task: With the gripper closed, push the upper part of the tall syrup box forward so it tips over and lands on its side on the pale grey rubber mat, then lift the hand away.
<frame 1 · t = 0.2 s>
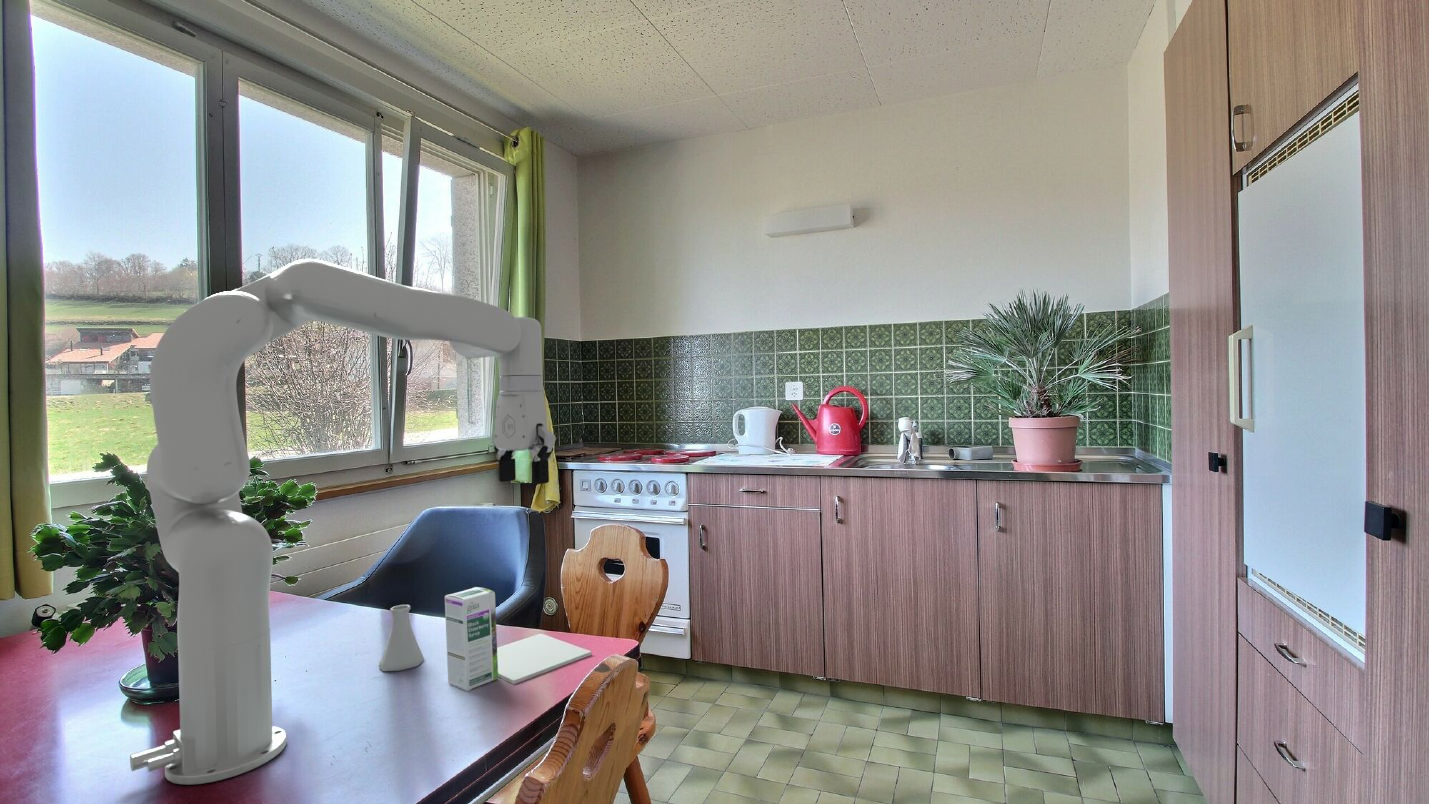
hand: (523, 482, 118), 31 cm above the table, tool pointing down, fingers open, 9 cm apart
flask: (401, 665, 115), on the table
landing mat: (528, 658, 116), on the table
syrup box: (472, 682, 107), on the table
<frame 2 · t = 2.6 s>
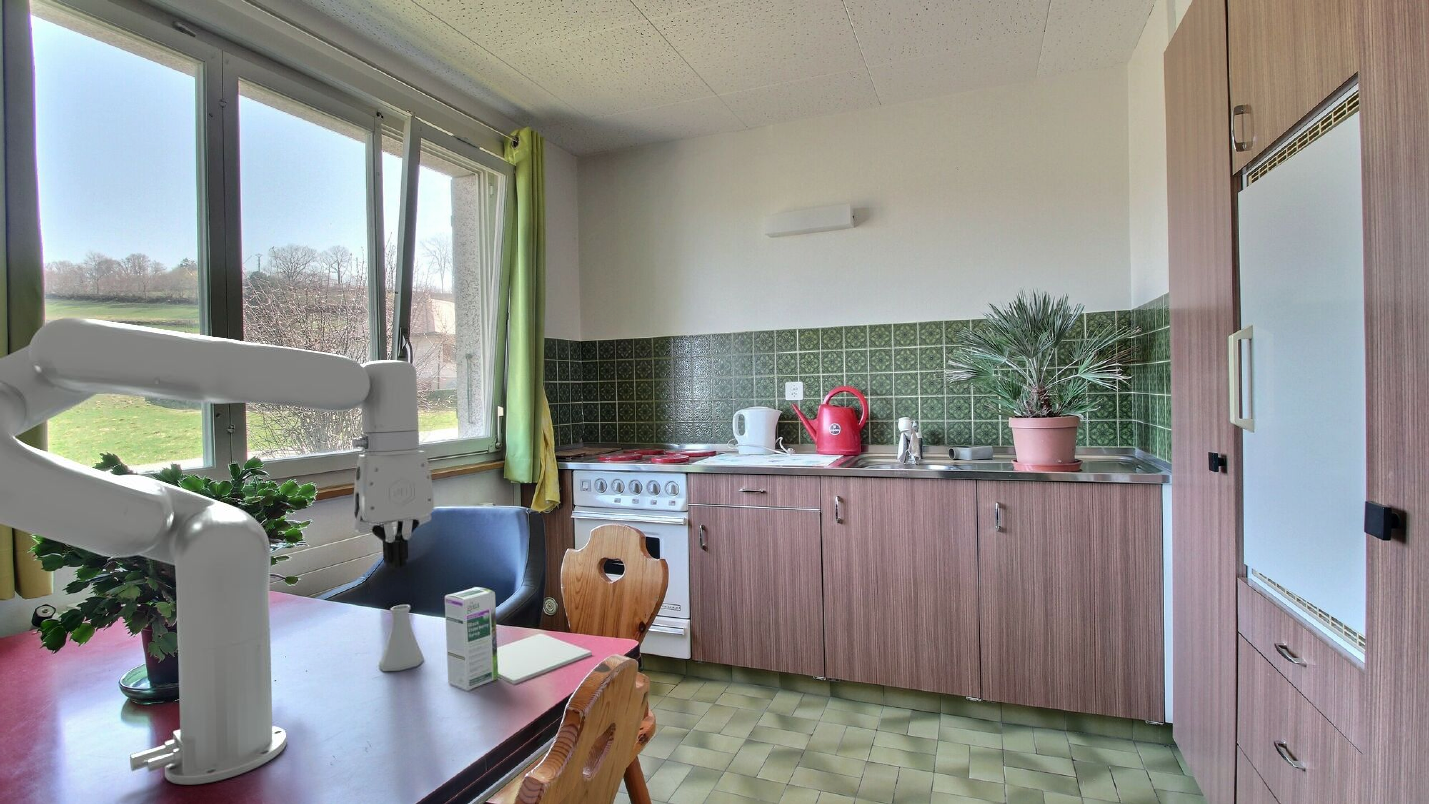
hand: (396, 566, 98), 21 cm above the table, tool pointing down, fingers closed
nothing on the table moved.
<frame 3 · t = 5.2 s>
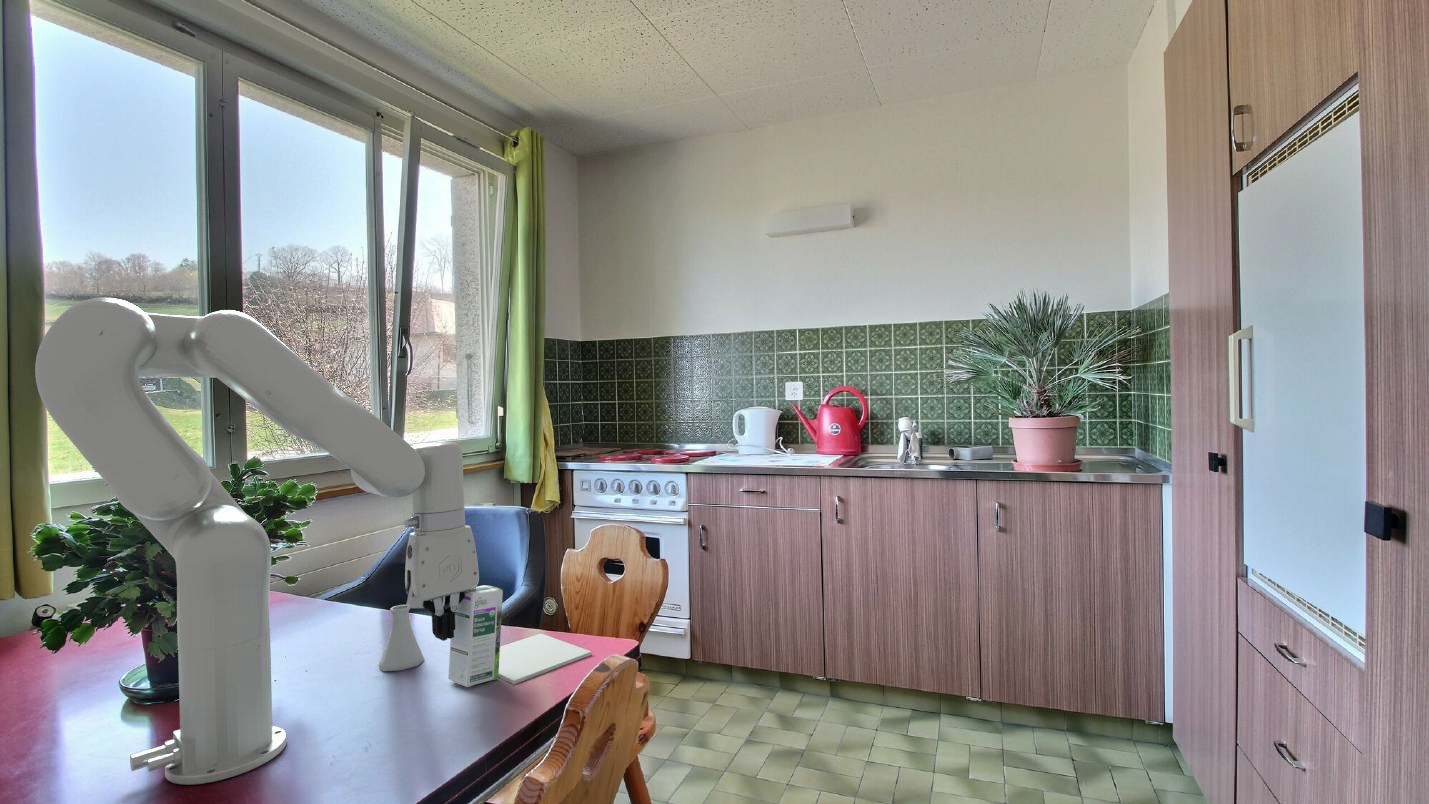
hand: (444, 637, 103), 8 cm above the table, tool pointing down, fingers closed
syrup box: (472, 680, 107), on the table, touching gripper
everything else where it was.
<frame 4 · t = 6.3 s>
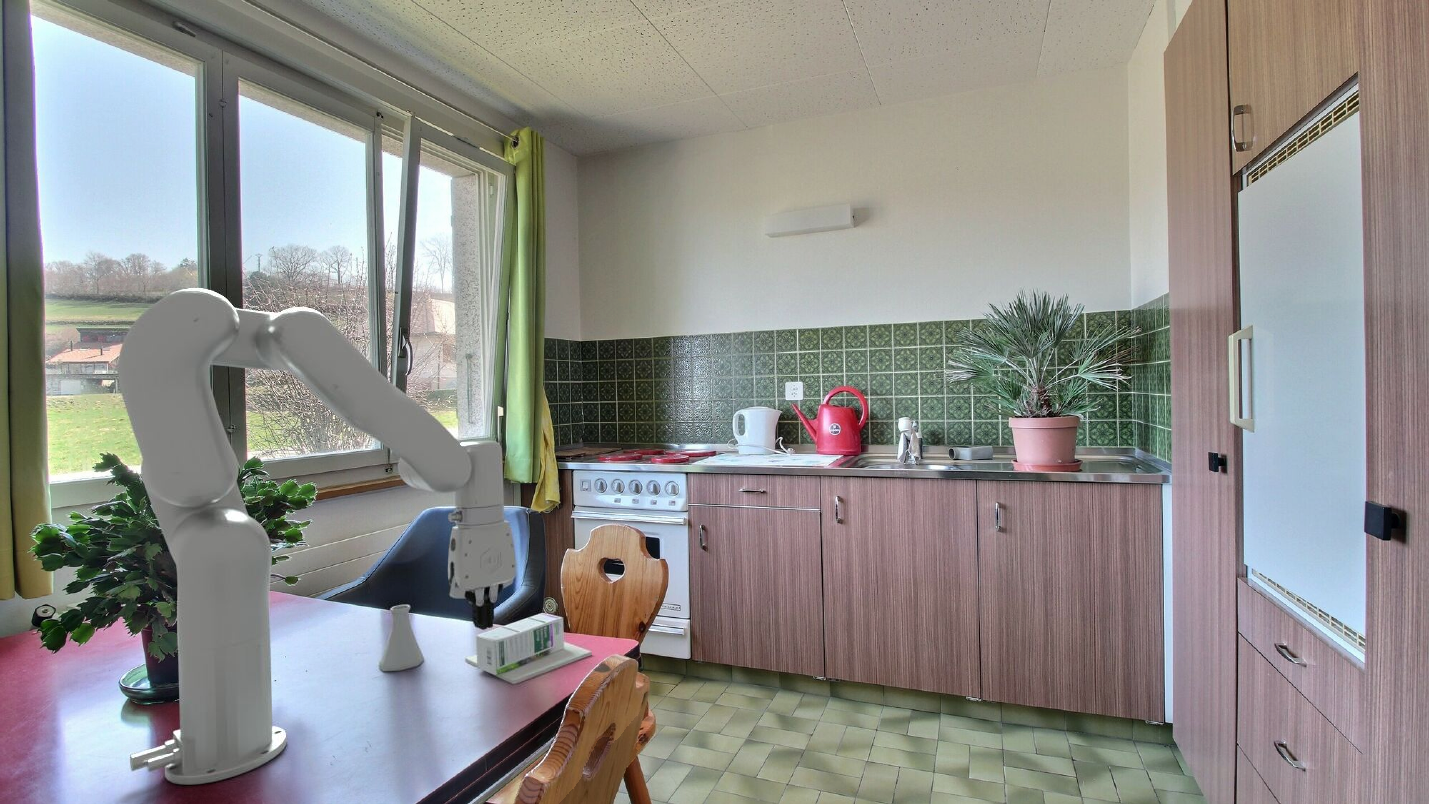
hand: (483, 626, 108), 8 cm above the table, tool pointing down, fingers closed
syrup box: (483, 655, 109), point 3 cm above the table, touching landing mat
everything else where it was.
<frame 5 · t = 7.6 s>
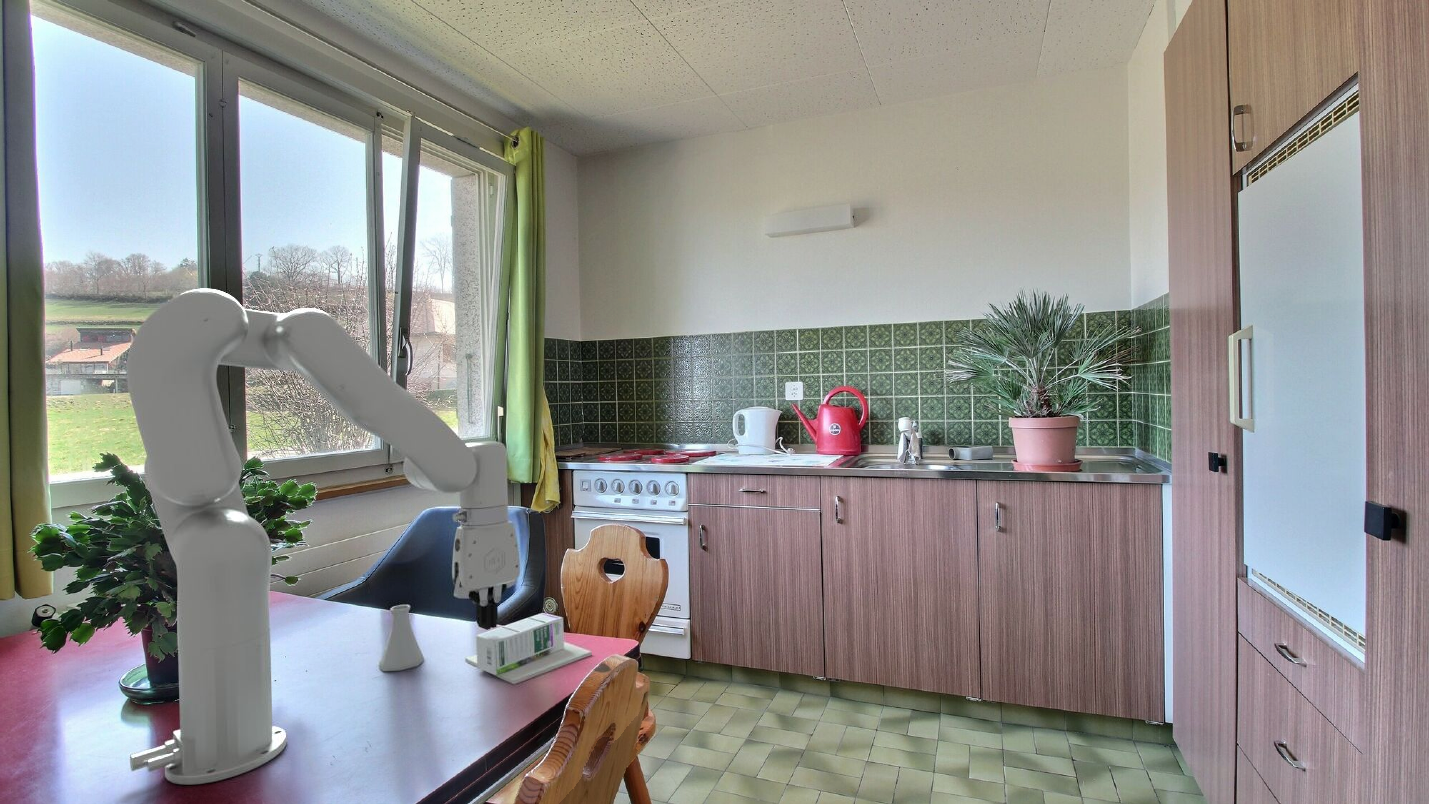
hand: (487, 626, 109), 8 cm above the table, tool pointing down, fingers closed
nothing on the table moved.
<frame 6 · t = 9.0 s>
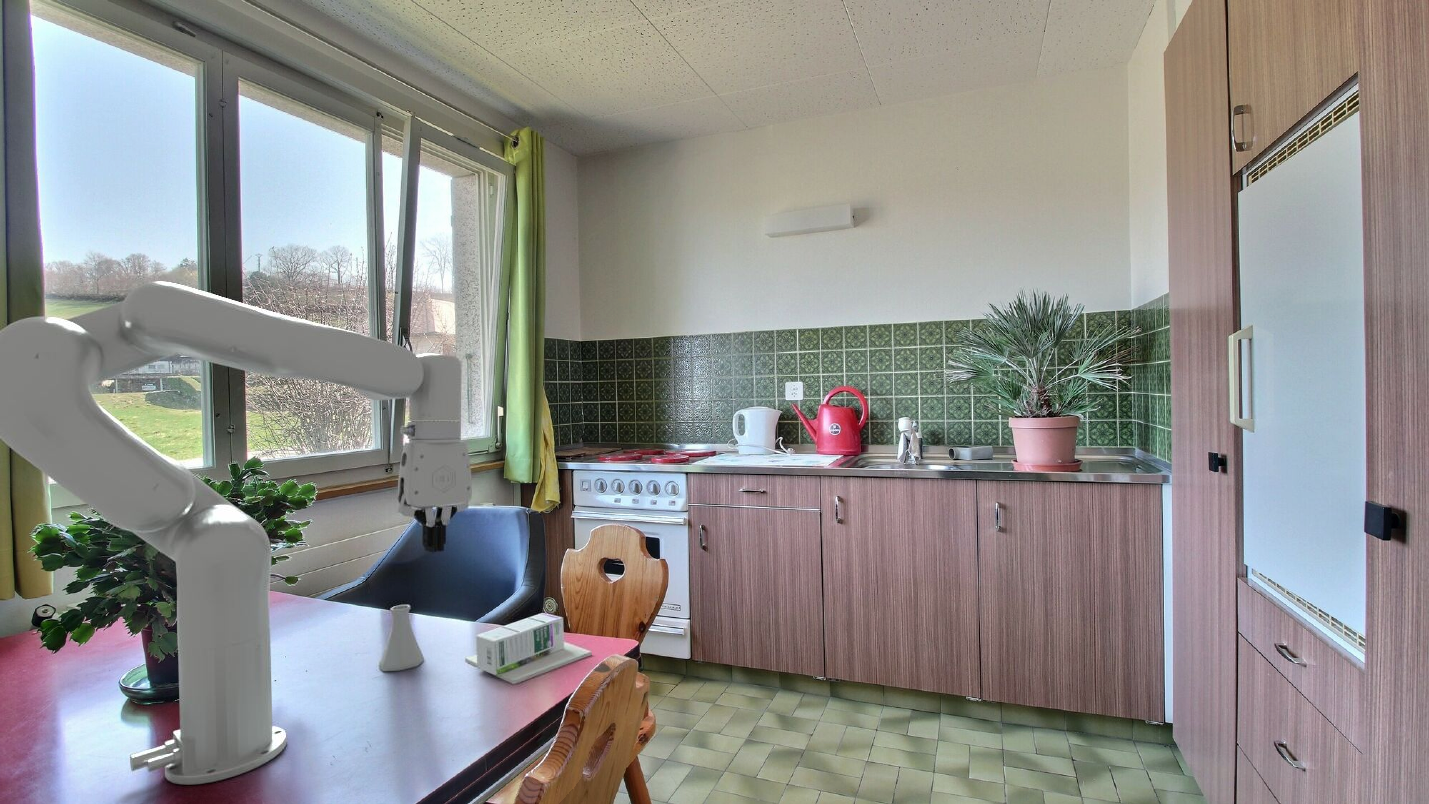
hand: (434, 550, 103), 22 cm above the table, tool pointing down, fingers closed
nothing on the table moved.
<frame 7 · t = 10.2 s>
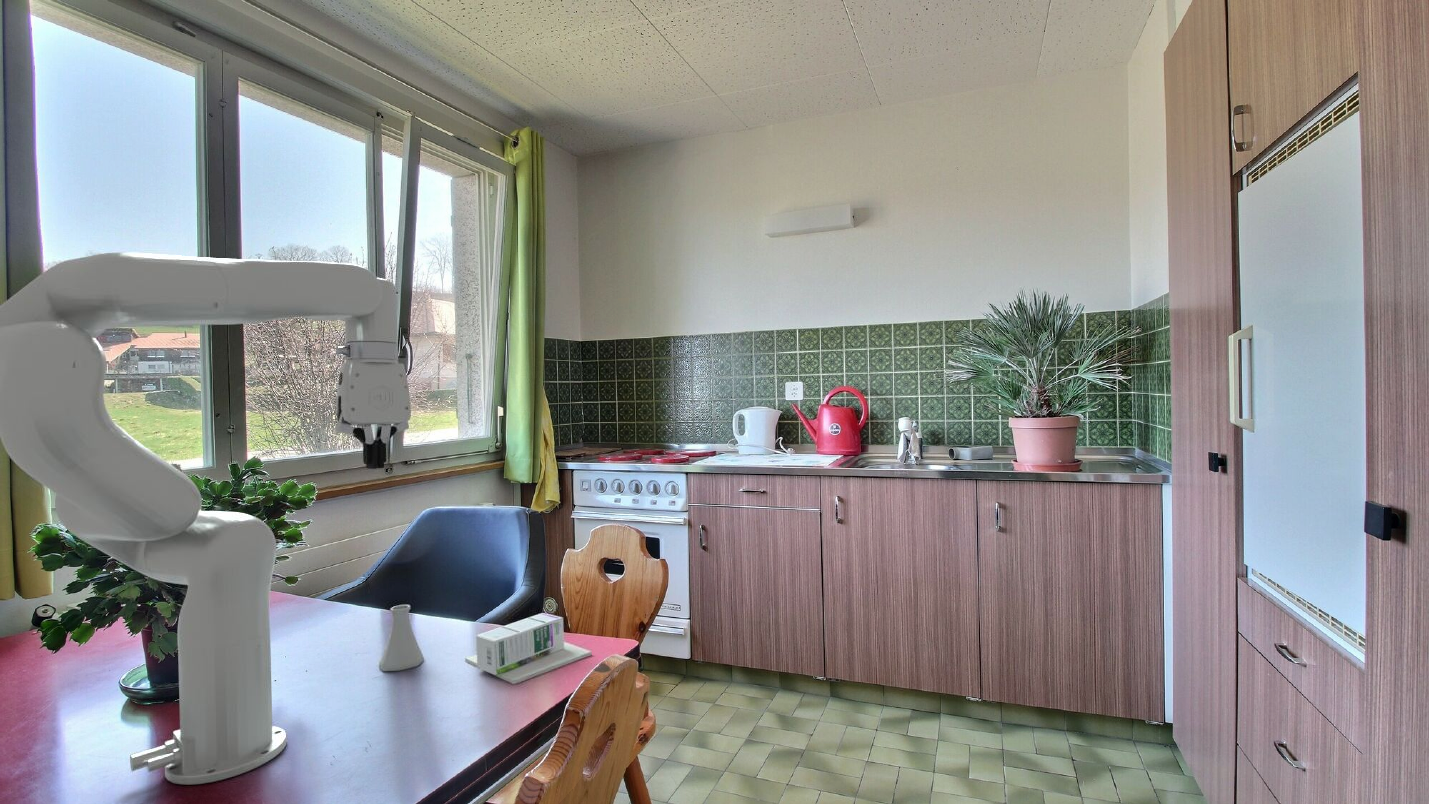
hand: (375, 467, 107), 35 cm above the table, tool pointing down, fingers closed
nothing on the table moved.
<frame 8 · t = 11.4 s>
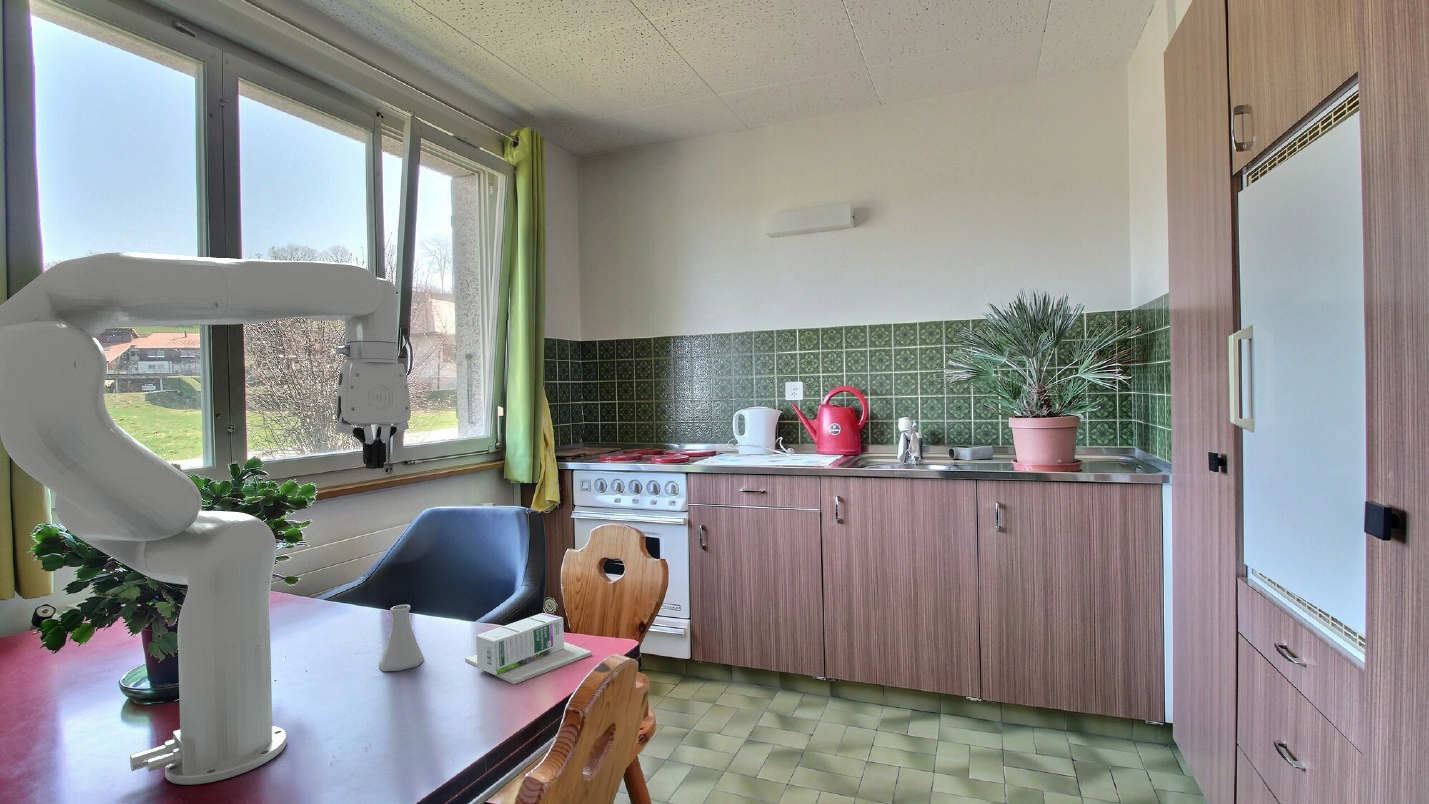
hand: (374, 467, 107), 35 cm above the table, tool pointing down, fingers closed
nothing on the table moved.
at the end: syrup box tilted 90°; syrup box touching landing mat; flask moved 0.3 cm from its start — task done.
